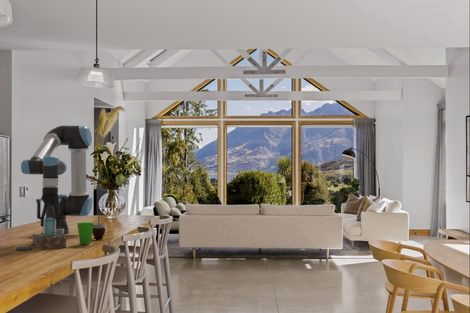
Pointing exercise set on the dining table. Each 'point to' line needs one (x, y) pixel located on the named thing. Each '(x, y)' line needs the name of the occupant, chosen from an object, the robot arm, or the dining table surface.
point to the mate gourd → (98, 230)
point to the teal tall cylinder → (49, 227)
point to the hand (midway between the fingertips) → (49, 232)
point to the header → (50, 240)
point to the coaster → (23, 248)
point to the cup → (85, 232)
